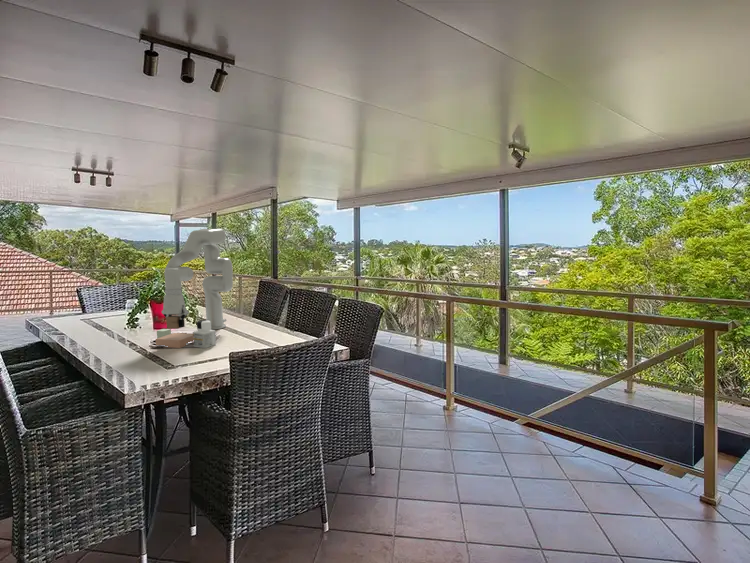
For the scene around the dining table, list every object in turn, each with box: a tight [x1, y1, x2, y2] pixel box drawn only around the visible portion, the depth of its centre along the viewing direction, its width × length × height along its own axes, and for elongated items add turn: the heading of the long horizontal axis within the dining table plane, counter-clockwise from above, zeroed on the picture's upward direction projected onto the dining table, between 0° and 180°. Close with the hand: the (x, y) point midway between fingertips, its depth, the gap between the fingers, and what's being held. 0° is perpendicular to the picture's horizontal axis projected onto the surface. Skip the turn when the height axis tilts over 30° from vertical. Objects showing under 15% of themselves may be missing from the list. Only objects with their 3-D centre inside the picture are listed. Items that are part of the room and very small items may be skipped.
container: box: [192, 319, 217, 349], centre depth 223 cm, size 8×8×13 cm
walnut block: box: [165, 315, 186, 330], centre depth 227 cm, size 6×6×6 cm
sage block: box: [156, 328, 172, 339], centre depth 241 cm, size 5×5×5 cm
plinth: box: [155, 332, 193, 349], centre depth 228 cm, size 14×14×4 cm
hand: (175, 326), depth 227 cm, fingers closed on walnut block, 6 cm apart
